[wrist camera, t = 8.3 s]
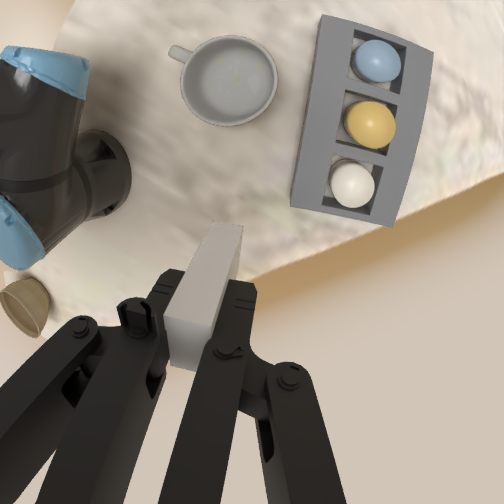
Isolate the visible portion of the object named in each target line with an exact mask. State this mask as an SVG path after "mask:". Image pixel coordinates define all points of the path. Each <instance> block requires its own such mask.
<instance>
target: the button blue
mask: <svg viewBox="0 0 504 504" xmlns="http://www.w3.org/2000/svg"><path fill="white" fill-rule="evenodd" d="M351 66H352V69H353V71H354V72H355V74H356V75H357V76H358V77H359V78H361V79H362V80H364V81H366V82H369V83H380V82H388V81H391V80H393V79H395V78H396V77H397V76H398V74H399V73H400V70H401V61H400V57H399V55H398V53H397V52H396V50H395V49H394V48H393V47H392V46H391V45H389V44H388V43H386V42H383V41H380V40H370V41H367V42H365V43H364V44H362V45H361V46H359V47H358V48H356V49H355V50H354V51H353V53H352V55H351Z"/></svg>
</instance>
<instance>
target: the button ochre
mask: <svg viewBox="0 0 504 504" xmlns="http://www.w3.org/2000/svg"><path fill="white" fill-rule="evenodd" d="M344 127H345V129H346V131H347V133H348V134H349V136H350V137H351V138H353V139H354V140H356V141H357V142H359V143H360V144H362V145H363V146H365V147H368V148H374V149H375V148H381V147H384V146H386V145H387V144H388V143H389V142H390V141H391V140H392V138H393V137H394V134H395V130H396V124H395V119H394V117H393V115H392V113H391V112H390V110H389V109H388V108H387V107H385V106H384V105H382V104H380V103H377V102H370V101H359V102H355V103H353V104H352V105H350V106H349V107H348V108H347V110H346V112H345V114H344Z"/></svg>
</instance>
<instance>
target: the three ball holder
mask: <svg viewBox="0 0 504 504" xmlns="http://www.w3.org/2000/svg"><path fill="white" fill-rule="evenodd" d="M353 37H355V38H359V39H362V40H365V41H370V40H380V41H383V42H386V43H388V44H389V45H391V46H392V47H393V48H394V49H395V50H396V52H397V53H398V55H399V57H400V61H401V70H400V73H399V74H398V76H397V77H396V78H395V79H393V80H392V81H391V87H390V91H388V90H385V89H382V88H379V87H376V86H373V85H370V84H366V83H363V82H360V81H356V80H353V79H349V78H347V77H348V71H349V64H350V57H351V50H352V43H353ZM433 55H434V52H432V51H430V50H427V49H425V48H423V47H421V46H419V45H416V44H414V43H412V42H410V41H407V40H405V39H402V38H400V37H397V36H395V35H392V34H389V33H386V32H384V31H381V30H378V29H375V28H372V27H369V26H366V25H362V24H359V23H355V22H352V21H348V20H344V19H341V18H337V17H332V16H328V15H323V14H322V17H321V19H320V21H319V26H318V33H317V40H316V47H315V53H314V60H313V67H312V73H311V79H310V86H309V92H308V98H307V104H306V110H305V116H304V122H303V127H302V133H301V139H300V144H299V150H298V155H297V161H296V166H295V172H294V177H293V182H292V188H291V193H290V207H296V208H301V209H307V210H312V211H317V212H322V213H327V214H332V215H337V216H342V217H347V218H351V219H356V220H361V221H365V222H370V223H374V224H379V225H383V226H388V227H393V225H394V222H395V219H396V216H397V213H398V210H399V207H400V204H401V201H402V198H403V195H404V192H405V189H406V185H407V182H408V179H409V175H410V172H411V168H412V165H413V161H414V157H415V153H416V149H417V145H418V141H419V137H420V133H421V128H422V124H423V119H424V114H425V109H426V103H427V98H428V92H429V86H430V79H431V72H432V64H433ZM345 92H348V93H352V94H355V95H359V96H362V97H366V98H369V99H372V100H376V101H379V102H382V103H385V104H387V108H388V109H389V110H390V112H391V113H392V115H393V117H394V119H395V124H396V130H395V134H394V137H393V138H392V140H391V141H390V142H389V143H388V144H387V145H386V146H384V147H381V148H378V150H374V149H371V148H367V147H363V146H360V145H356V144H352V143H348V142H344V141H340V140H336V137H337V132H338V127H339V122H340V117H341V111H342V106H343V100H344V95H345ZM333 154H335V155H339V156H343V157H348V158H352V159H356V160H360V161H363V162H367V163H371V164H374V167H373V170H372V174H371V176H372V178H373V180H374V193H373V195H372V197H371V199H370V200H369V201H368V202H367V203H366V204H364V205H363V206H360V207H357V208H350V207H346V206H343V205H342V204H340V203H339V202H338V201H337V199H335V198H331V197H326V196H324V192H325V187H326V183H327V179H328V174H329V170H330V165H331V161H332V156H333Z"/></svg>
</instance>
